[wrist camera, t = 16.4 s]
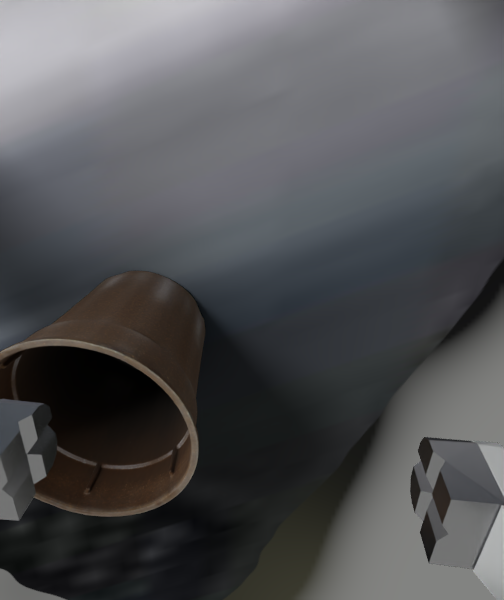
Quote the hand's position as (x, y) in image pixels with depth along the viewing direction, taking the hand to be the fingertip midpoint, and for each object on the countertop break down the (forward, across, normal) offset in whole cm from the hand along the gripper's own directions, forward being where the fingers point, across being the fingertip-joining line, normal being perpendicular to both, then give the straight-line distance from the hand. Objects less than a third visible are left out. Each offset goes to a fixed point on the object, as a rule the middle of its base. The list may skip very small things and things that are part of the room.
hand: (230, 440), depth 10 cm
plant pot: (+31, +12, +16) cm, 37 cm away
